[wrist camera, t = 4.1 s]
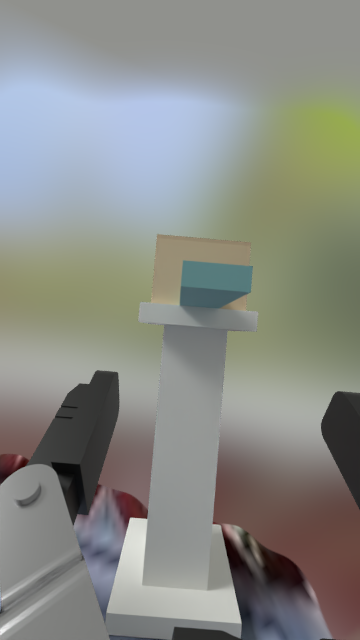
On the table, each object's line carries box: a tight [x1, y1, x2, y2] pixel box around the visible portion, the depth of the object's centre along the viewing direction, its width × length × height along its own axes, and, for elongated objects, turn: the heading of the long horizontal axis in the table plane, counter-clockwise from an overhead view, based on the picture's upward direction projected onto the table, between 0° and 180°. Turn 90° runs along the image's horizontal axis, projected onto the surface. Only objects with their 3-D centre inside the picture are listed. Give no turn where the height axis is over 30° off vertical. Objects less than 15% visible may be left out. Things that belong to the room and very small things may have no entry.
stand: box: [105, 302, 258, 640], centre depth 33 cm, size 13×13×32 cm
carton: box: [151, 234, 253, 311], centre depth 27 cm, size 23×10×7 cm, turn 1°
